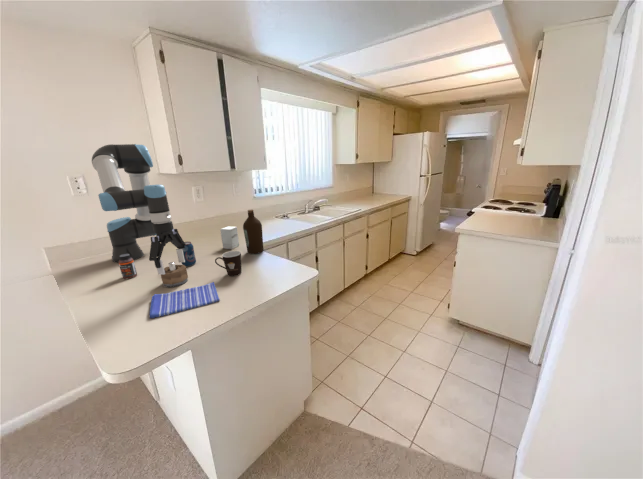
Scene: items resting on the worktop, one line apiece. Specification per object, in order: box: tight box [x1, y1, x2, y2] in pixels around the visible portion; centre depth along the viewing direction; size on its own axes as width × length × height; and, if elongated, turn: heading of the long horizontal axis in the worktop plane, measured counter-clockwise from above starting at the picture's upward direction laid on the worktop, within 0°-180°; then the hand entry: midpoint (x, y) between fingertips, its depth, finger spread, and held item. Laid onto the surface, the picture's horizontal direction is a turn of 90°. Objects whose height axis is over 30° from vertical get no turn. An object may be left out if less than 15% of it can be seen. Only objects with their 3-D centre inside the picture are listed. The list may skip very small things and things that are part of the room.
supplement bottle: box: [117, 254, 138, 280], centre depth 128 cm, size 6×6×11 cm
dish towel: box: [149, 281, 220, 319], centre depth 104 cm, size 17×24×3 cm
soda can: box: [180, 241, 197, 267], centre depth 140 cm, size 7×7×12 cm
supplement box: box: [219, 226, 240, 250], centre depth 166 cm, size 7×7×13 cm
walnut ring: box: [160, 264, 189, 285], centre depth 120 cm, size 10×10×5 cm
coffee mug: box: [214, 250, 242, 277], centre depth 127 cm, size 12×9×10 cm
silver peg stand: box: [162, 261, 189, 289], centre depth 119 cm, size 10×10×10 cm
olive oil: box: [242, 209, 264, 255], centre depth 153 cm, size 11×11×25 cm
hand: (172, 267), depth 119 cm, fingers open, 13 cm apart
